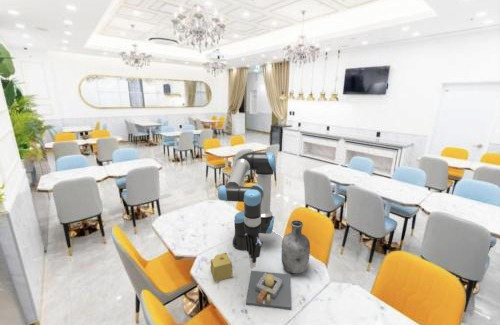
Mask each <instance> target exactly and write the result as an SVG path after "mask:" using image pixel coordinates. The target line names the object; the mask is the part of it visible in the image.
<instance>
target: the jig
mask: <svg viewBox="0 0 500 325" xmlns="http://www.w3.org/2000/svg"><path fill="white" fill-rule="evenodd" d="M264 273H267V275H266V276H265V284H264V286H266V287H269V288H271V289H273V287H274V285H275V284H274V276H275V277H277V278H280V279H282V280H283V285H282V287H281V289H280V290H279V292H278V294H277V295H276V297H275V299H274V298H272V297H270V295H269V294H268V295H267V296H266V298H265V300H264V301H263V303H262V304H261V303H259V302H257V296H258V295H259V293H260V292H259V291H257V290H255V285H256V284H257V283H258V281H259V280H260V279H261V277H262V276H263V274H264ZM291 288H292V287H291V274H290V273H282V272H281V273H280V272H271V271H262V270H261V271H259V270H251V271H250V276H249V283H248V289H247V292H246V299H245V306H251V307H252V306H253V307H261V308H269V309H280V310H287V311H288V310H289V311H292V293H291V292H292V290H291Z"/></svg>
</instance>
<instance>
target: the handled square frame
mask: <svg viewBox="0 0 500 325" xmlns="http://www.w3.org/2000/svg"><path fill="white" fill-rule="evenodd" d="M266 275H267V273H264V274H263V276H262V277H261V279H260V280H259V281H258V283H257V284H256V285H255V290H257V291H259V292H260V293H259V295H258V296H257V302H259V303H261V304H262V303H263V301H264V300H265V298H266V296H267V295H268V294H269V295H270V297H272V298H274V299H275V297H276V295H277V294H278V292H279V290H280V289H281V287H282V285H283V280H282V279H280V278H277V277H275V276H274V284H275V285H274V287H273V289H271V288H269V287H266V286H264V284H265V276H266Z"/></svg>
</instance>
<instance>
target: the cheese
mask: <svg viewBox="0 0 500 325" xmlns="http://www.w3.org/2000/svg"><path fill="white" fill-rule="evenodd" d="M210 271H211V273H212V277H213V281H214V282H219V281H223V280H226V279H230V278H232V276H233V264H232V261H231V259H230V257H229V255H228V253H227V252H223V253H219V254H215V256H214V258H212V259H210Z"/></svg>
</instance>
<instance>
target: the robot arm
mask: <svg viewBox="0 0 500 325" xmlns="http://www.w3.org/2000/svg"><path fill="white" fill-rule="evenodd" d="M249 171H255V174H256V176H257V184H255V183H254V184H252V185H251V186H242V184H243V182H244V179H245V177H246V175H247V173H248V172H249ZM276 171H277V164H276V156H275V153H273V152H265V151H263V152H262V151H261V152H260V151H258V152H257V151H249V152H246V153H243V154H242V155H241V156H239V157H238V158H237V159H236V160H235V163H234V168H233V170H232V172H231V174H230V176H229V178H228V180H227V182H226V184H224V185H223V184H222V185H219V187H218V189H217V197H218V200H220V201H225V202H236V203H237V202H240V203H241V202H242V203H243V206H244V207H243V208H244V210H241V211H238V212H237V213H236V214H235V215H234V220H233V221H234V235H233V238H232V246H233V248H234V249H235V250H238V251H245V252H247V253H248V255H249V257H248V259H249V268H250V269H254V268H256V266H257V258H259V257H260V255H261V252H262V251H261V250H262V246H263V245H264V243H263V241H261V240H260V234H265V235H270V234H272V233H273V229H274V228H273V227H274V224H275V223H274V222H275V218H276V217H275V216H274V215H273V212H272V211H271V201H272V200H271V196H272V194H271V193H272V192H271V191H272V177H273V175H274V172H276Z"/></svg>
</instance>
